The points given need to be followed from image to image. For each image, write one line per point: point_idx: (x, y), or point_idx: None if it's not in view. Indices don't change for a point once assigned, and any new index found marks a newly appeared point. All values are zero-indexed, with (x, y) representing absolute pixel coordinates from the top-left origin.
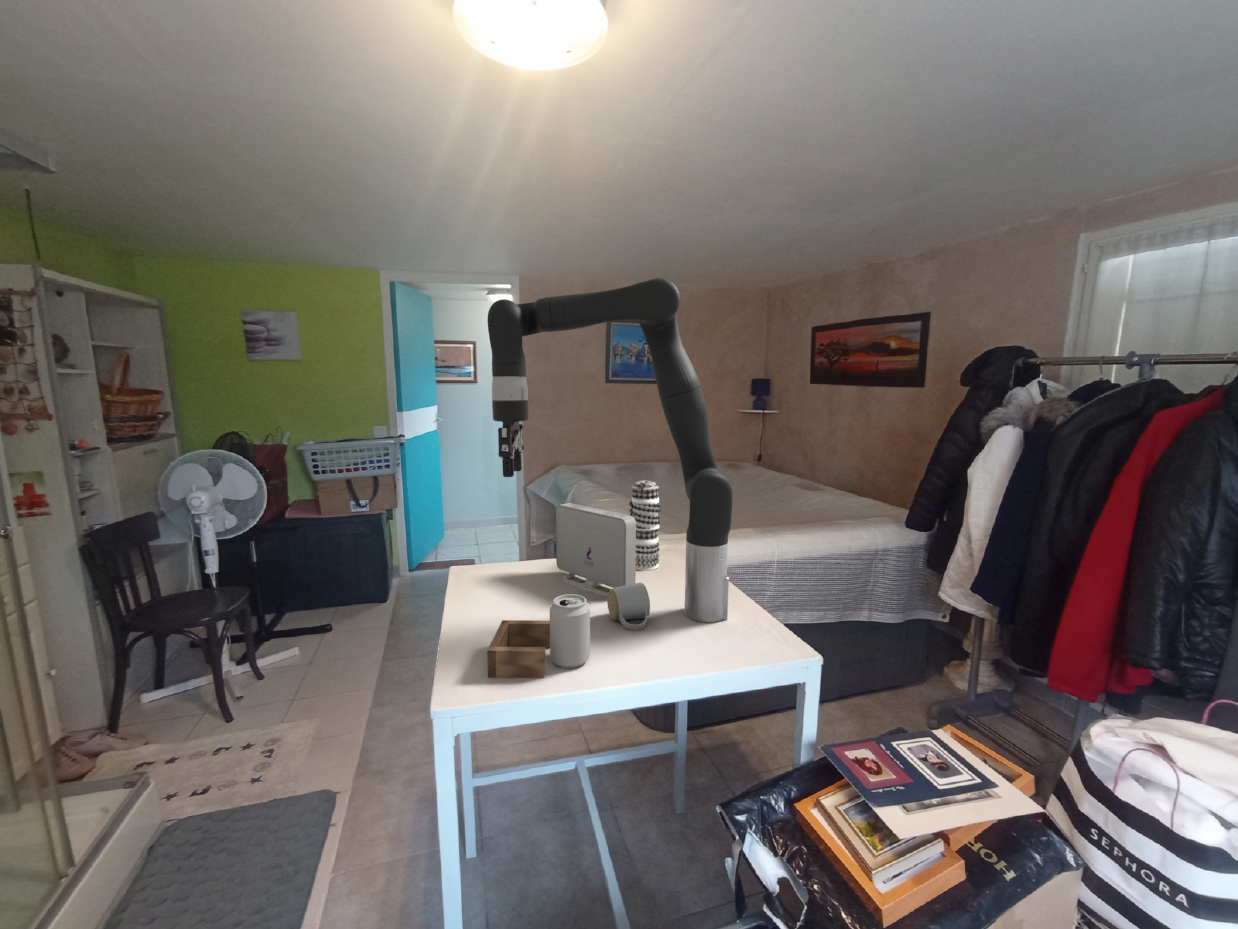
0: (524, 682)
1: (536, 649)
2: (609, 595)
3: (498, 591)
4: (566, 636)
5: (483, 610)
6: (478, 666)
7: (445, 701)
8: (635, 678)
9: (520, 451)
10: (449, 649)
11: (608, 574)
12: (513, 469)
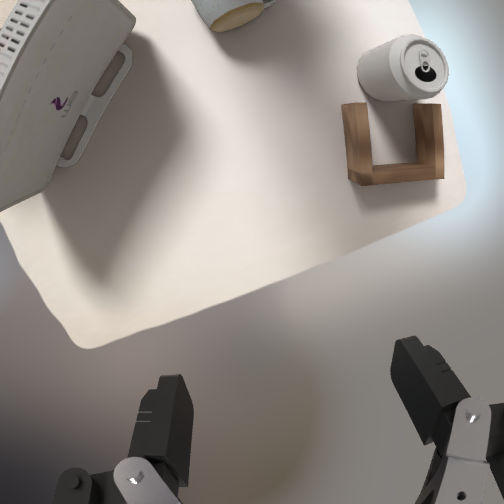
0: None
1: (438, 114)
2: (231, 19)
3: (151, 259)
4: (427, 74)
5: (234, 252)
6: (403, 191)
7: (459, 201)
8: (403, 2)
9: (160, 477)
10: (365, 245)
11: (104, 53)
12: (425, 358)
